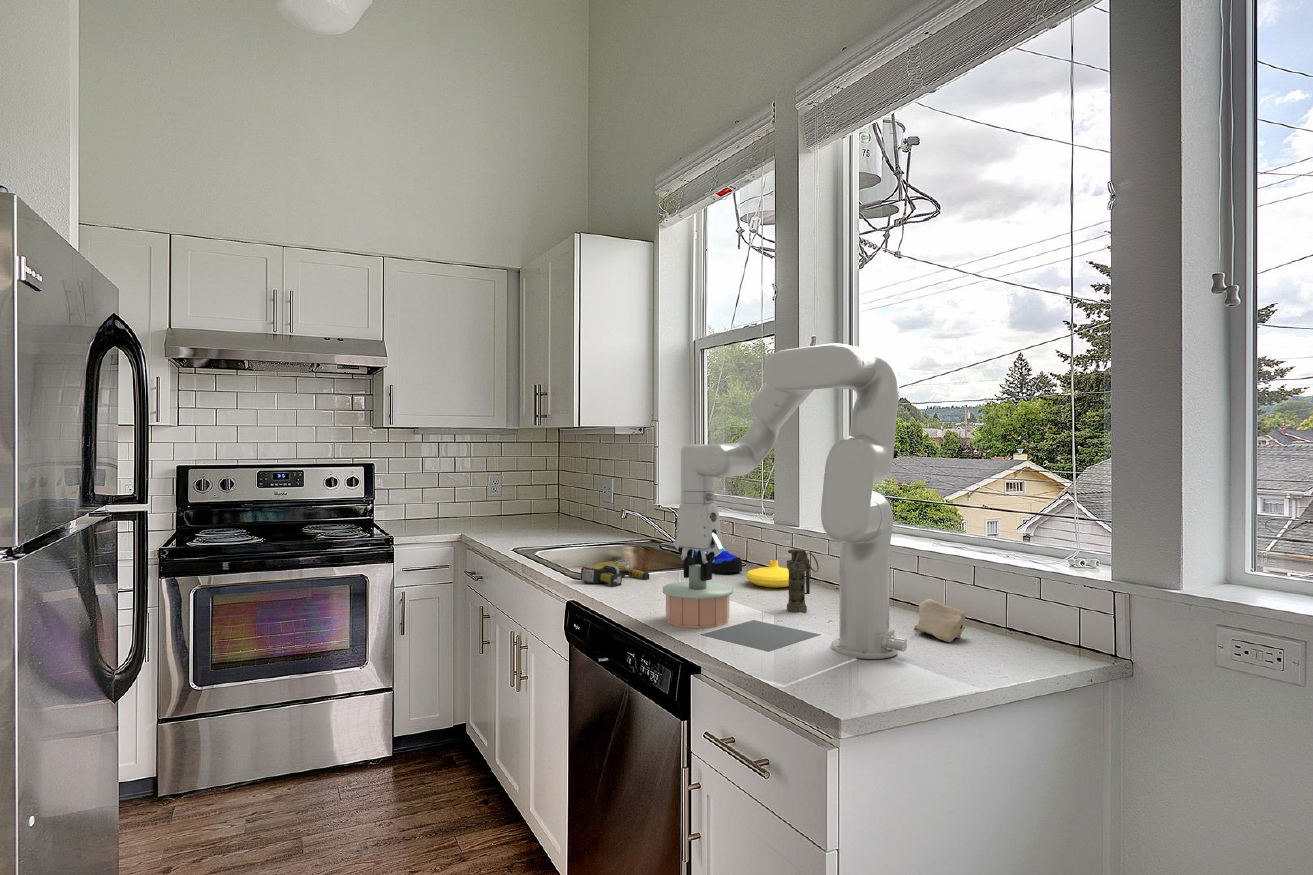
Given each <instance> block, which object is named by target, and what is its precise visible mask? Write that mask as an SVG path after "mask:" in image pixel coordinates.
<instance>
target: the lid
mask: <svg viewBox="0 0 1313 875" xmlns="http://www.w3.org/2000/svg"><path fill="white" fill-rule="evenodd" d="M662 593H663V594H664V595H665V596H666V595H668V596H672V597H677V598H686V599H713V598H721V597H726V596H729V597H730V596H731V595H733V593H734V586H731V585H729V584H727V583H722V582H715V581H708V580H707V581H701V565H689V578H688V581H679V582H672V583H668V584H666V585H664V586H663V587H662Z"/></svg>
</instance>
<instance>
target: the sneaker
mask: <svg viewBox="0 0 1313 875" xmlns="http://www.w3.org/2000/svg"><path fill="white" fill-rule="evenodd" d="M721 545H722V547H723V551H722V552H721V553H720V554H719V555H718V556H717V557H716V558H715V561H714V562H712V575H715V574H719V575H721V574H722V575H723V574H731V573H740V572H741V573H742V572H743V562H742V559H741V557H738V556H737V555H735V554H733V553H729V551H728V550H727V549H726V548H725V547H724V545H723V544H722V543H721ZM713 550H714V548H713ZM706 552H707V555H708V551H706ZM692 559H695V565H701V563H703V561H702V555H701V550H700V549H694V554H693V558H692Z"/></svg>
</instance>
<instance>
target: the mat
mask: <svg viewBox="0 0 1313 875" xmlns="http://www.w3.org/2000/svg"><path fill="white" fill-rule="evenodd" d="M699 636H704V637H707V638H712V639H716V640H720V641H722V642H723V641H724V642H728V643H732V644H736V645H741V646H744V647H748V648H752V649H757V650H760V651H764V652H772V651H775V650H779V649H782V648H785V647H788V646H791V645H794V644H796V643H800V642H803V641H806V640H810V639H813V638H816V637H819V636H822V634H820V633H815V632H811V631H807V630H803V629H797V628H792V627H789V626H783V625H779V624H774V623H769V622H765V621H761V620H760V621H758V620H755V619H752V620H749V621H744V622H741V623H738V624H734V625H731V626H727V627H726V626H725V627H723V628H719V629H715V630H711V631H708V632H704V633H700V634H699Z"/></svg>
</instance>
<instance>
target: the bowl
mask: <svg viewBox="0 0 1313 875" xmlns="http://www.w3.org/2000/svg"><path fill="white" fill-rule="evenodd" d="M665 618H666V622H667V623H668V624H670V625H672V626H676V627H682V628H690V629H706V628H707V629H710V628H717V627H722V626H725V625H726V624H728V623H729V622H730V621H729V619H730V595H729V596H726V597H721V598H713V599H686V598H677V597H672V596H668V595H666V594H665Z"/></svg>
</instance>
